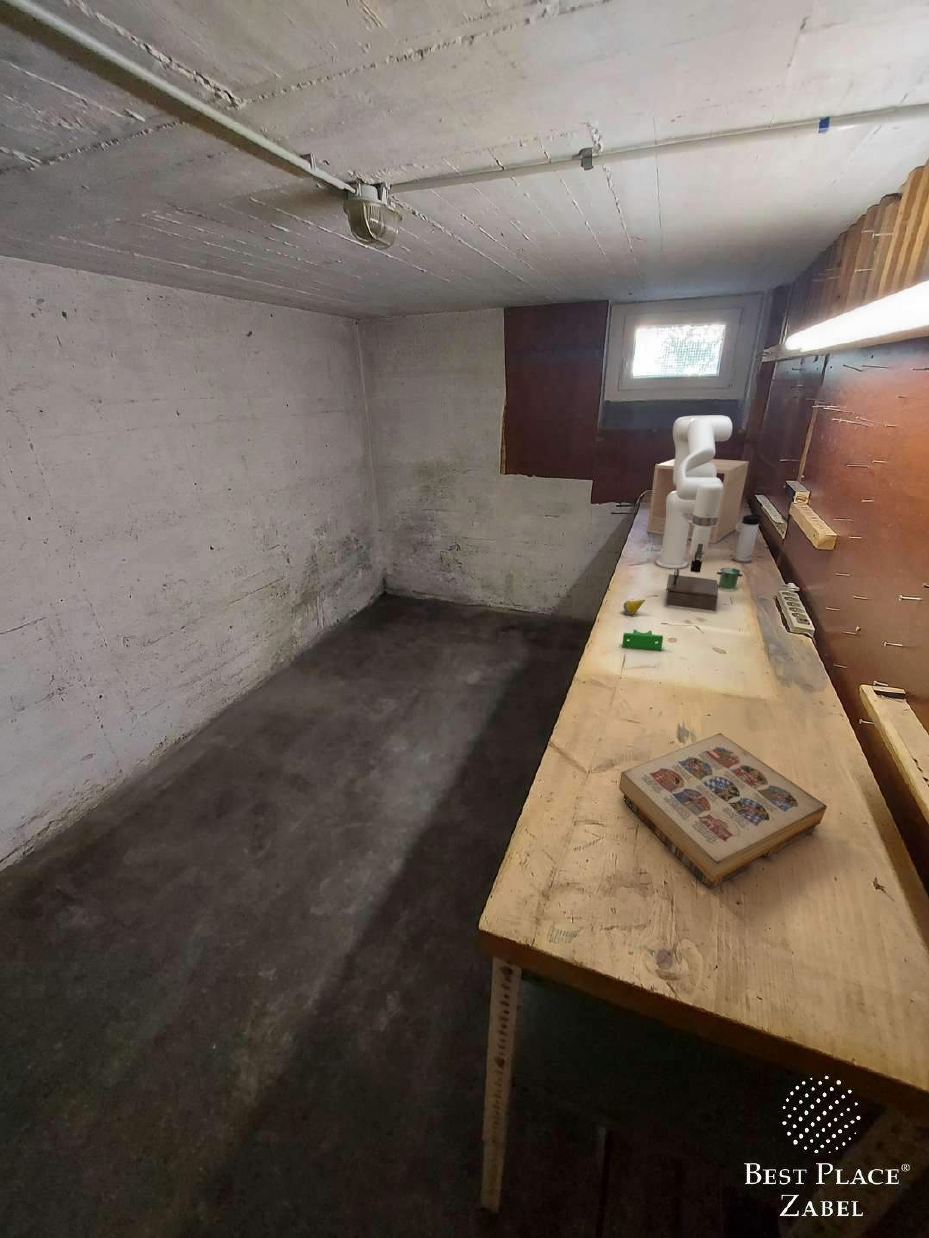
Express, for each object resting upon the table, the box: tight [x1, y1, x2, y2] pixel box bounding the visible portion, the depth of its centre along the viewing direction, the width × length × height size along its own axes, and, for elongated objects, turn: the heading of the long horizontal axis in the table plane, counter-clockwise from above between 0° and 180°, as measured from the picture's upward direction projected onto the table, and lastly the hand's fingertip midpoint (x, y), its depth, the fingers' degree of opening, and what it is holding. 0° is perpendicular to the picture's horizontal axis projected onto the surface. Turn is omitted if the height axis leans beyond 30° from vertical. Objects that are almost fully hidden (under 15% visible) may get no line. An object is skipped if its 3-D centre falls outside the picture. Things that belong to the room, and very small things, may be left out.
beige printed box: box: [618, 732, 828, 889], centre depth 90 cm, size 25×6×28 cm
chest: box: [665, 590, 719, 612], centre depth 173 cm, size 16×15×6 cm
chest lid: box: [665, 568, 719, 597], centre depth 171 cm, size 16×15×5 cm
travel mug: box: [733, 514, 762, 564], centre depth 206 cm, size 6×7×20 cm
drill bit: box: [623, 599, 646, 617], centre depth 165 cm, size 5×5×10 cm
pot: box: [716, 567, 744, 590], centre depth 183 cm, size 9×7×7 cm
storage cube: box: [646, 458, 750, 544], centre depth 246 cm, size 34×29×34 cm
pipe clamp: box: [621, 629, 664, 651], centre depth 146 cm, size 11×4×5 cm, turn 76°
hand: (695, 571), depth 170 cm, fingers closed
